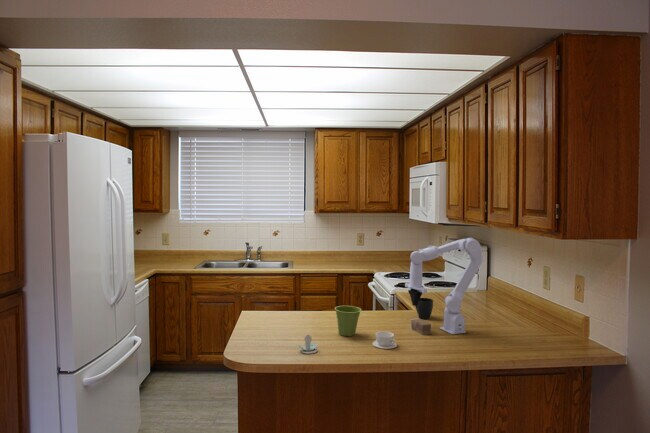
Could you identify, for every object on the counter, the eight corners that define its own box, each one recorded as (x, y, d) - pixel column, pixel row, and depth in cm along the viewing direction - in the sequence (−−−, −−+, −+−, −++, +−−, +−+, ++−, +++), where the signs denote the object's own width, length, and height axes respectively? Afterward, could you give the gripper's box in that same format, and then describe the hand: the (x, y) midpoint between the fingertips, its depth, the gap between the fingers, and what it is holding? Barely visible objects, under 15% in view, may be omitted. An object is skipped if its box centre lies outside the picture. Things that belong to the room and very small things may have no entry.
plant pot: (352, 340, 175) (353, 313, 175) (328, 334, 182) (329, 309, 181) (365, 333, 186) (366, 308, 185) (342, 328, 192) (342, 304, 191)
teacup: (367, 344, 171) (367, 333, 171) (382, 339, 178) (382, 328, 178) (387, 351, 164) (387, 340, 164) (401, 345, 171) (402, 334, 171)
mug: (420, 313, 222) (421, 295, 221) (435, 319, 211) (436, 300, 210) (408, 314, 218) (409, 296, 218) (422, 320, 207) (423, 302, 207)
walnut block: (418, 327, 195) (430, 333, 187) (410, 328, 194) (422, 334, 185) (419, 318, 195) (430, 324, 187) (410, 319, 193) (422, 324, 185)
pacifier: (320, 353, 160) (313, 347, 166) (321, 337, 160) (314, 332, 165) (303, 356, 157) (296, 350, 162) (303, 339, 156) (297, 334, 162)
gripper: (400, 274, 200) (399, 302, 201) (418, 280, 187) (417, 309, 188) (412, 273, 203) (411, 301, 204) (431, 279, 190) (429, 308, 191)
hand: (415, 305), depth 196 cm, fingers closed
